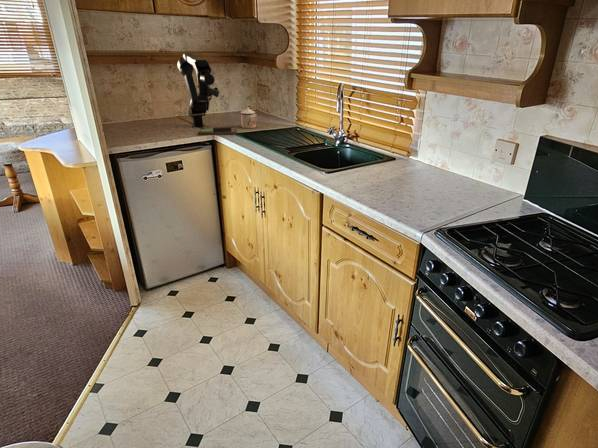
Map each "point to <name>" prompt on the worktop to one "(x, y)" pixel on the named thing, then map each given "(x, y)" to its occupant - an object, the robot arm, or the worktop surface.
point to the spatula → (216, 129)
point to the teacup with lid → (248, 118)
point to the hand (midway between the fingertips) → (206, 111)
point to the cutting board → (218, 132)
